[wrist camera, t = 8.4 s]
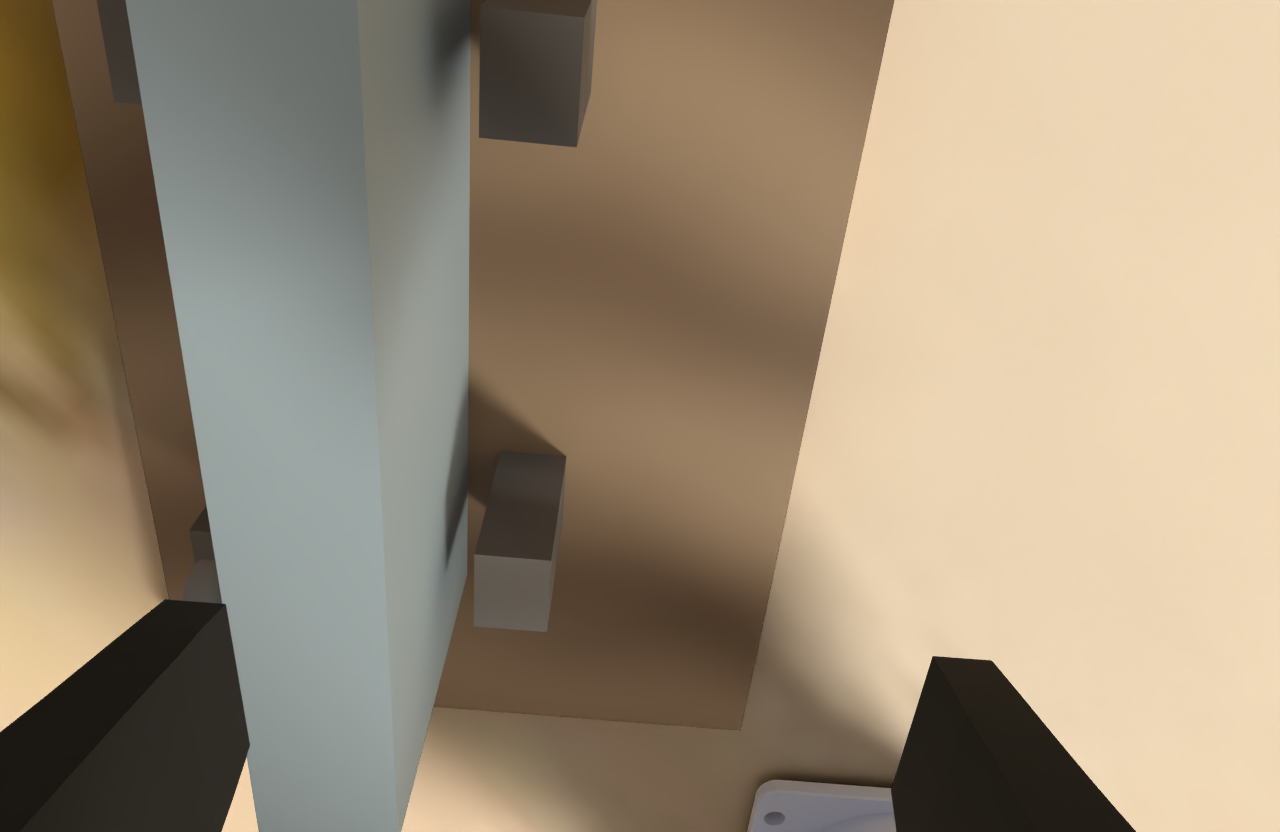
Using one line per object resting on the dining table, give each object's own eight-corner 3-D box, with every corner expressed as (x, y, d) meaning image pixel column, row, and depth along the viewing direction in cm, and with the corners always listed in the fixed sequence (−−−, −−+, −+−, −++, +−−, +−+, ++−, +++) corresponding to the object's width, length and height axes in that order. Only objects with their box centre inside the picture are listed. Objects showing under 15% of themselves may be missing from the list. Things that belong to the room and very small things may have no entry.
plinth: (736, 679, 23) (752, 852, 19) (213, 638, 22) (120, 805, 19) (958, -438, 13) (1090, -559, 9) (10, -552, 12) (-290, -732, 8)
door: (467, 574, 19) (397, 842, 14) (324, 562, 19) (203, 827, 14) (471, -112, 13) (352, -78, 8) (262, -134, 13) (8, -115, 8)
